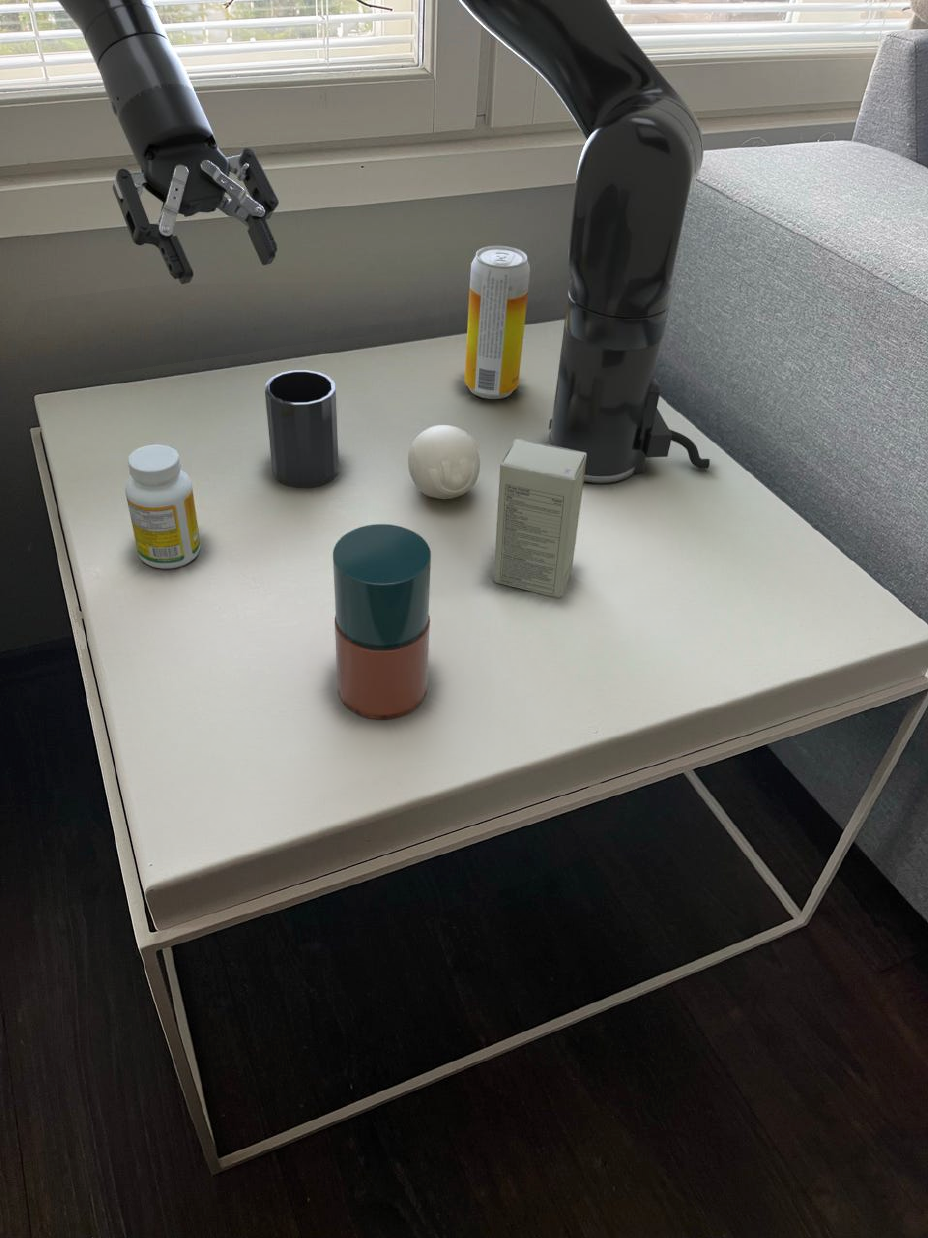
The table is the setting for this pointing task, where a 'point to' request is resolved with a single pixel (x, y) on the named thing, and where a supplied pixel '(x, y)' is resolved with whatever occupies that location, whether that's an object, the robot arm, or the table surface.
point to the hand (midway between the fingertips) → (230, 270)
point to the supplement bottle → (162, 507)
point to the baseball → (444, 462)
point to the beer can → (496, 321)
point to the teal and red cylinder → (382, 619)
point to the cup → (302, 427)
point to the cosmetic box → (538, 516)
